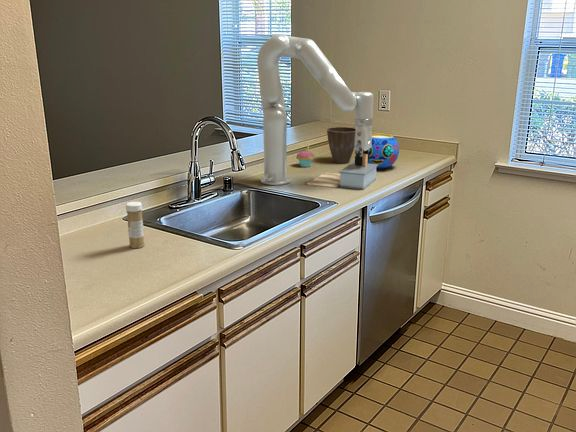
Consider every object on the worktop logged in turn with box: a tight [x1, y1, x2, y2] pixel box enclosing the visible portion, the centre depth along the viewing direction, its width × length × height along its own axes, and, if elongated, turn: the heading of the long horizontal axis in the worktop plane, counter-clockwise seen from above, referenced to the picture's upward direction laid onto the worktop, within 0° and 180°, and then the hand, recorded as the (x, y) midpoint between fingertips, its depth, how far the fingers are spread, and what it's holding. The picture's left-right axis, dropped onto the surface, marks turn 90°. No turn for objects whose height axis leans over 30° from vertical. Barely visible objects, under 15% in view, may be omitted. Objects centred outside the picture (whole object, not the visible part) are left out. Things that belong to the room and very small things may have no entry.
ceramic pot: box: [367, 133, 400, 169], centre depth 275 cm, size 18×18×15 cm
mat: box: [306, 171, 340, 189], centre depth 255 cm, size 22×13×1 cm, turn 156°
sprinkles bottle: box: [125, 201, 145, 249], centre depth 176 cm, size 5×5×14 cm
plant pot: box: [326, 126, 356, 165], centre depth 286 cm, size 15×15×16 cm
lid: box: [338, 154, 378, 175], centre depth 247 cm, size 19×11×7 cm, turn 156°
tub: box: [339, 168, 377, 190], centre depth 249 cm, size 18×10×6 cm, turn 156°
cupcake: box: [295, 142, 315, 168], centre depth 279 cm, size 9×8×12 cm
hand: (361, 163), depth 251 cm, fingers open, 8 cm apart
